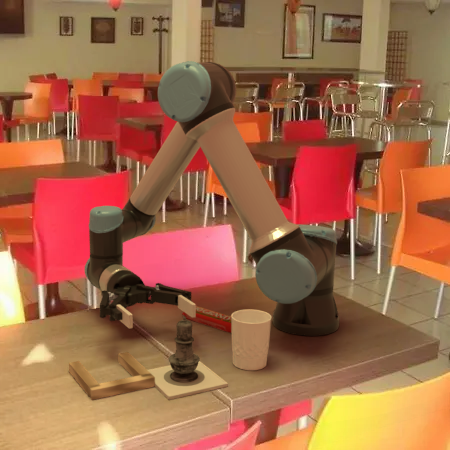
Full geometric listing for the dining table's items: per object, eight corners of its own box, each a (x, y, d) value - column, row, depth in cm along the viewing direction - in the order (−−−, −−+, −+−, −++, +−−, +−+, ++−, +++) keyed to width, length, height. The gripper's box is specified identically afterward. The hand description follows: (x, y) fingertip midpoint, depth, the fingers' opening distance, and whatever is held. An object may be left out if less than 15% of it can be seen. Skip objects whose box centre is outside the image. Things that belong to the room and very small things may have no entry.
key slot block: (127, 360, 143) (127, 351, 142) (154, 386, 132) (154, 377, 131) (69, 371, 137) (68, 362, 137) (92, 399, 126) (91, 390, 126)
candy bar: (179, 318, 167) (179, 306, 167) (190, 314, 170) (190, 302, 170) (233, 336, 158) (234, 323, 157) (243, 331, 161) (244, 319, 160)
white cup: (257, 375, 138) (259, 326, 135) (222, 365, 142) (223, 317, 139) (276, 361, 144) (278, 314, 142) (242, 352, 148) (244, 306, 146)
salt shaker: (195, 384, 131) (196, 322, 129) (164, 381, 132) (164, 319, 130) (202, 371, 137) (203, 311, 134) (173, 368, 138) (173, 309, 135)
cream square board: (197, 362, 143) (197, 359, 143) (227, 386, 133) (227, 382, 132) (141, 373, 137) (141, 370, 137) (168, 399, 127) (168, 396, 127)
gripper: (173, 294, 166) (218, 324, 148) (67, 310, 153) (102, 345, 136) (173, 263, 164) (219, 289, 146) (66, 276, 152) (102, 307, 134)
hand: (163, 316), depth 141 cm, fingers open, 13 cm apart
